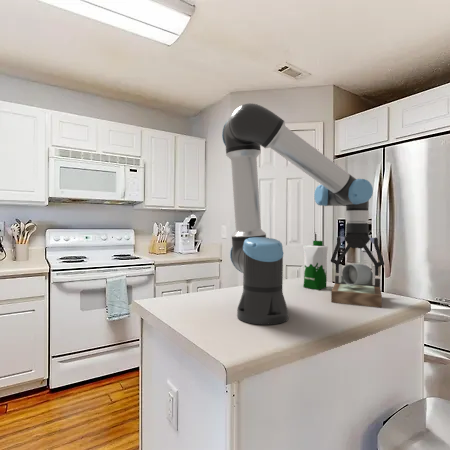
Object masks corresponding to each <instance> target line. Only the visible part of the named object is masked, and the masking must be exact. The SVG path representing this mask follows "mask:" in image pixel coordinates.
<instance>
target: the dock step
mask: <svg viewBox="0 0 450 450" xmlns="http://www.w3.org/2000/svg"><path fill="white" fill-rule="evenodd" d="M341 277H342V276H341ZM382 297H383V296H382V289H381V278H379V277H378V278H377V277H375V285H372V280H371V281H370V282H369V283H367V284H362V285H353V286H350V285H348V284H346V283H345V282H343V281H342V280H341V283H339V275H334V285H333V287H332V289H331V292H330V298H331V299H330V301H331V303H336V304H343V305H345V304H347V305H353V306H354V305H356V306H363V307H365V306H366V307H375V308H382V302H383V301H382V299H383V298H382Z"/></svg>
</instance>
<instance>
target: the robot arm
mask: <svg viewBox="0 0 450 450" xmlns="http://www.w3.org/2000/svg"><path fill="white" fill-rule="evenodd" d="M221 135H222V136H221V138H222V142H223V144H224V146H225V154H226V155H225V156H226V157H227V158H228V159H230V163H231V165H230V166H231V177H232V190H233V193H232V194H233V206H234V207H233V209H234V221H235V222H234V224H235V231H234V232H233V233H232V235H231V243H232V244H231V245H232V246H231V249H230V252H229V254H230V261H231V263H232V265H233V266H234V268H235V269H236V270H237V271H239V272H240V273H242V275H243V276H242V279H243V282H242V285H243V286H242V288H243V289H242V292H241V293H242V294H241V297H240V300H239V302H238V306H237V308H236V310H237V311H236V312H237V313H236V316H237V319H238V320H240V321H242V322H244V323H249V324H253V325H260V326H261V325H263V326H265V325H267V326H268V325H272V326H273V325H280V324H283V323H285V322H287V321H288V320H289V309H288V306H287V303H286V300H285V295H284V292H283V284H284V283H283V277H284V274H283V271H284V268H283V267H284V263H283V262H284V249H283V247H284V246H283V244H282V242H281V241H280V240H279V239H276V238H272V237H271V238H269V237H267V233H266V232H265V231H264V230H263V229H262V224H261V223H262V221H261V208H260V207H261V206H260V205H261V204H260V192H259V176H258V161H257V158H258V157H259V155H260V154H261V150H262V149H261V147H263V148H264V149H271V150H273V151H274V152H276V153H277V154H279V156H281V157H283V158H284V159H285V160H287V161H288V162H289V163H291V164H292V165H294V166H295V167H296V168H298V169H299V170H300V171H302V172H303V173H305V174H306V175H308V176H309V177H310V178H312V179H313V180H314V181H316V182H318V183H319V185H317V186H316V187H315V190H314V196H313V197H314V200H315V201H314V202H315V204H316V205H318V206H319V207H320V206H323V207H339V206H341V207H345V208H346V209H345V210H346V211H345V221H346V222H347V223H346V224H345V236H337V237H336V245H335V248H334V250H333V252H332V256H331V259H330V263H333V264H335V274H338V276H339V283H341V276H342V271H343V269H342V267H343V266H342V265H343V264H341V262H342V260H343V259H344V257H345V256H346V254H347V253H348V251H350V249H351V248H352V249H360V250H361V249H364V251H365V253H366V254H367V255H368V257H369V259H370V260H371V262H372V264H373V265H372V273H373V277H372V285H375V278H376V276H379V274H380V273H379V272H380V271H379V268H380V267H381V266H384V265H385V262H384V258H383V255H382V253H381V250H380V247H379V239H378V237H370V236H369V223H368V222H369V219H370V218H369V213H370V212H369V209H370V208H369V207H370V205H369V203H370V202H369V201H370V200H371V198H372V196H373V193H374V189H373V185H372V183H371V182H370V181H369V180H367V179H365V178H356V177H354V176H352V175H351V174H350V173H348V172H347V171H346V170H345V169H344V168H342V167H340V166H339V165H338V164H336V163H335V162H334V161H332V160H331V159H330V158H329V157H327V156H326V155H325V154H323V153H322V152H320V151H319V150H318V149H317V148H315V147H314V146H312V144H310V143H309V142H307V141H306V140H304V139H303V138H302V137H301V136H299V135H298V134H297V133H295V132H293V131H292V130H291V129H289V127H287V126H286V121H285V120H284V119H283V118H281V117H280V116H278V114H276V113H274V112H273V111H272V110H269V109H268V108H266V107H264V106H262V105H260V104H258V103H257V104H256V103H253V102H252V103H249V102H248V103H244V104H241V105H239V106H238V107H236V108H235V110H234V111H233V112H232V114H231V115H230V117H228V119H227V120H226V121H225V124H224V126H223V128H222V133H221ZM344 241H345V242H346V243H347V245H346V247H345V248H344V250H343V251H342V253H341V254H339V255H340V256H339V257H338V258H337V259H336V257H337V256H338V252H339V249H340V246H341V244H342V243H343V242H344ZM369 241H370V242H371V244H372V245H373V246H374V248H375V253H376V254H377V257H378V261H379V262H378V261H377V259H376V258H375V256H374V255H373V253H372V252H371V251H370V249H369V247H368V246H367V244H368V243H369Z"/></svg>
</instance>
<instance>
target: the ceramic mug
mask: <svg viewBox="0 0 450 450" xmlns="http://www.w3.org/2000/svg"><path fill="white" fill-rule="evenodd" d="M372 277H373V269H371V267H370V266H369V265H366V264H364V263H363V264H362V263H348V264H346V265H344V267H343V269H342V277H341V280H342V281H343V282H345V283H346V284H348V285H350V286H353V285H362V284H367V283H369V282H370V281H371V280H372Z"/></svg>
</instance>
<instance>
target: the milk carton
mask: <svg viewBox="0 0 450 450" xmlns="http://www.w3.org/2000/svg"><path fill="white" fill-rule="evenodd" d="M328 248H329V246H328V245H324V242H323V240H312V244H307V245H303V246H302V249H303V254H304V257H303V258H304V262H303V263H304V267H303V268H304V269H303V271H304V272H303V274H304V275H303V288H306V289H309V290H310V289H311V290H315V291H320V290H323V289H326V288H327V279H328V278H327V274H328V273H327V267H328V266H327V264H328V263H327V262H328V261H327V259H328V257H327V256H328Z"/></svg>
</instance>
